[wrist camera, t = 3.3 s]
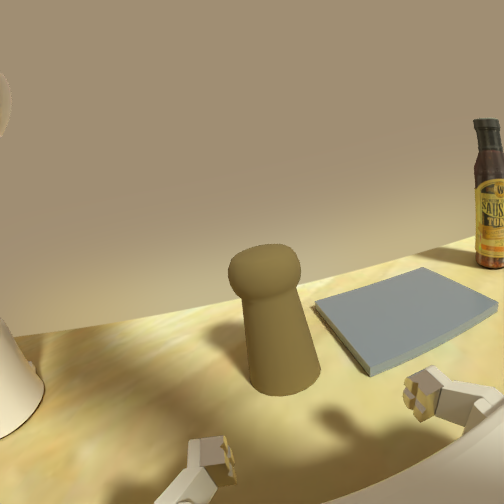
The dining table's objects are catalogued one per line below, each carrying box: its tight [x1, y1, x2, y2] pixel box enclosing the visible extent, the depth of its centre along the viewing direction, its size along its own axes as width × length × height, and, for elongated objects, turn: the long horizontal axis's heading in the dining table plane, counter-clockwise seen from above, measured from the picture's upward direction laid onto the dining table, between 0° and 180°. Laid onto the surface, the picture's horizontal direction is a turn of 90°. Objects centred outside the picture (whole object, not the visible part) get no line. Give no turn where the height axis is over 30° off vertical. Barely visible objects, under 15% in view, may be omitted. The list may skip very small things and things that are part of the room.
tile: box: [315, 267, 498, 377], centre depth 27 cm, size 16×14×1 cm
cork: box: [228, 244, 321, 396], centre depth 22 cm, size 6×6×11 cm
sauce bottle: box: [473, 118, 504, 268], centre depth 28 cm, size 7×6×20 cm
